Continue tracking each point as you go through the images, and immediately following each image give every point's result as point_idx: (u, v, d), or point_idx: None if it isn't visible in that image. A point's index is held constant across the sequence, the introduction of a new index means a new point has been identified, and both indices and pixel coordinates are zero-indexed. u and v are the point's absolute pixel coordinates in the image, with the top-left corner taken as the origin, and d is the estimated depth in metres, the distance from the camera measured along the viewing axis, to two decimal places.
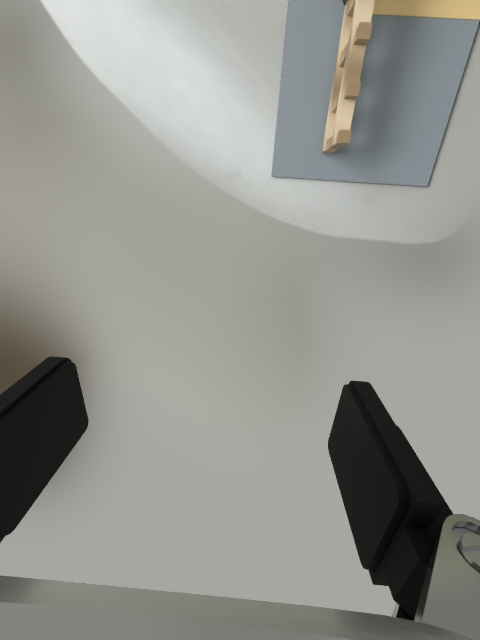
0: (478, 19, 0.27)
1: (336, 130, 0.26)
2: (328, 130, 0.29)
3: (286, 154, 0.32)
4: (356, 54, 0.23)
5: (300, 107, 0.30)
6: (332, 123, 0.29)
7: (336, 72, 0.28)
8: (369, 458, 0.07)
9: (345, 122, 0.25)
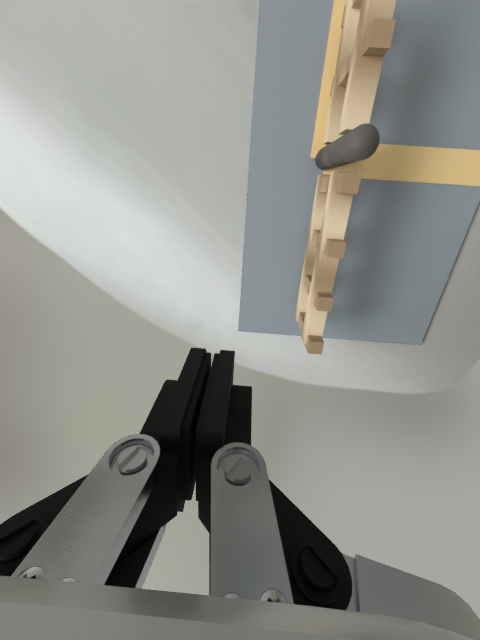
0: None
1: (306, 331, 0.21)
2: (301, 302, 0.24)
3: (254, 311, 0.27)
4: (328, 263, 0.18)
5: (268, 267, 0.25)
6: (305, 296, 0.24)
7: (308, 245, 0.22)
8: None
9: (316, 326, 0.20)
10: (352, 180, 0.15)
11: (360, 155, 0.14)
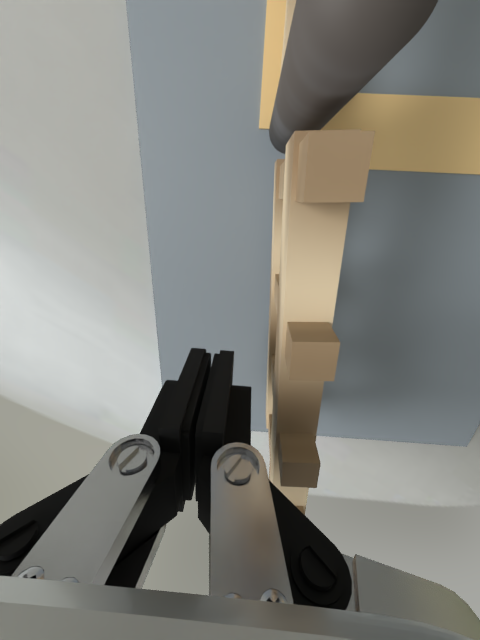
0: None
1: None
2: (269, 400, 0.13)
3: None
4: None
5: (202, 330, 0.14)
6: None
7: (271, 303, 0.11)
8: None
9: (291, 491, 0.09)
10: (342, 156, 0.04)
11: (363, 40, 0.03)
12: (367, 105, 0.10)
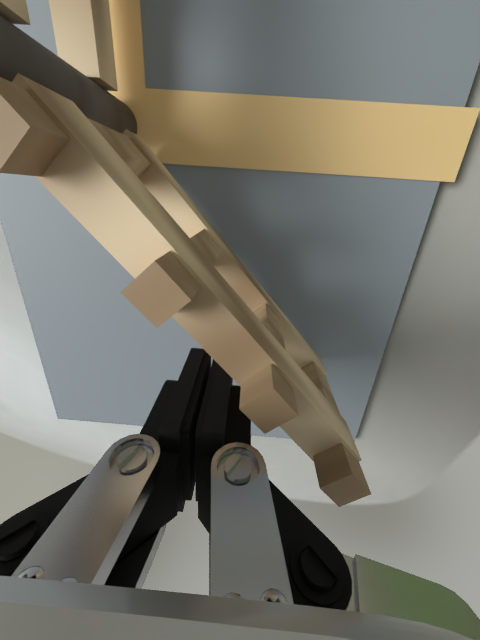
0: (437, 179, 0.11)
1: None
2: None
3: (73, 391, 0.16)
4: (200, 318, 0.07)
5: (74, 324, 0.15)
6: None
7: None
8: None
9: (314, 434, 0.08)
10: None
11: None
12: (186, 102, 0.10)
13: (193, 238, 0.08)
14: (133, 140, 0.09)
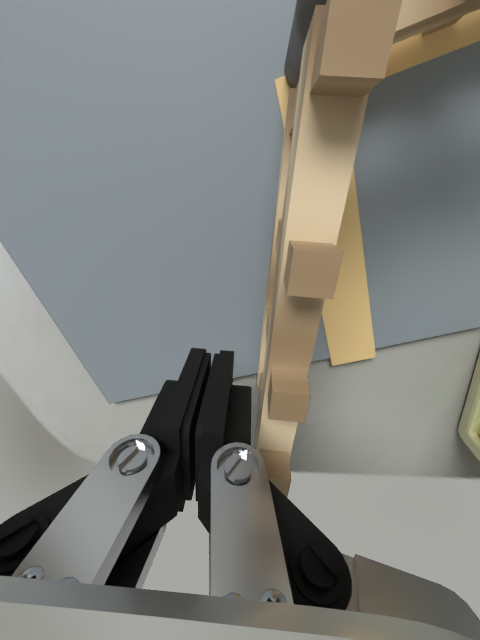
0: (330, 356, 0.15)
1: (258, 439, 0.10)
2: (262, 357, 0.13)
3: None
4: (296, 304, 0.07)
5: (51, 51, 0.10)
6: None
7: (272, 253, 0.11)
8: None
9: (278, 435, 0.09)
10: (366, 17, 0.04)
11: None
12: None
13: None
14: None
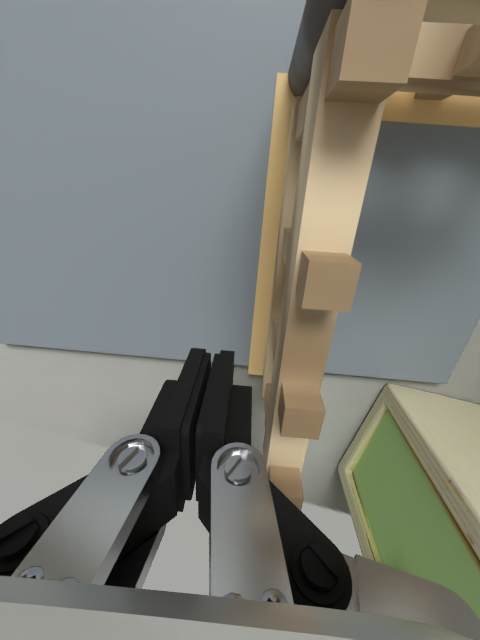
0: (249, 364, 0.15)
1: (267, 455, 0.09)
2: (268, 368, 0.13)
3: None
4: (308, 316, 0.07)
5: None
6: None
7: (277, 261, 0.11)
8: None
9: (289, 451, 0.09)
10: (389, 20, 0.04)
11: None
12: None
13: None
14: None
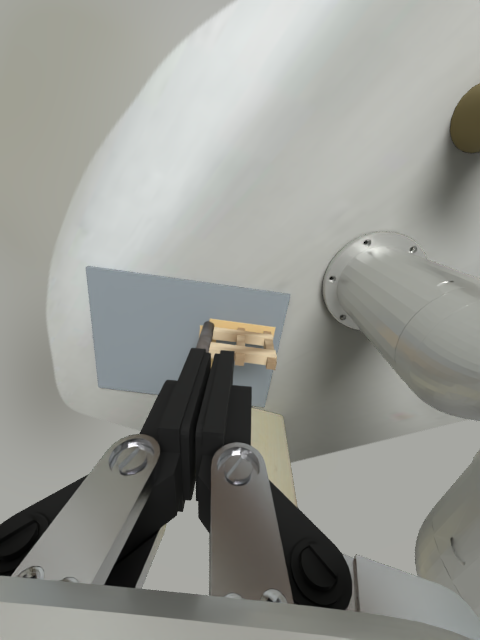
0: None
1: None
2: None
3: (105, 281, 0.35)
4: None
5: (142, 293, 0.35)
6: None
7: None
8: None
9: None
10: None
11: None
12: None
13: None
14: None
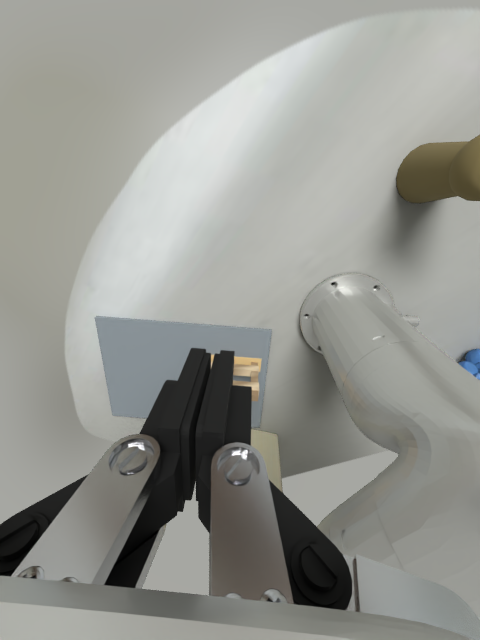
0: None
1: None
2: None
3: (112, 327, 0.40)
4: None
5: (143, 336, 0.41)
6: None
7: None
8: None
9: None
10: None
11: None
12: None
13: None
14: None
